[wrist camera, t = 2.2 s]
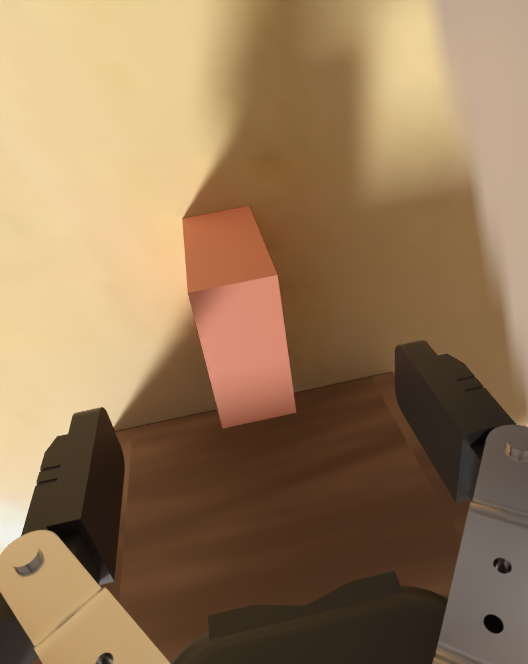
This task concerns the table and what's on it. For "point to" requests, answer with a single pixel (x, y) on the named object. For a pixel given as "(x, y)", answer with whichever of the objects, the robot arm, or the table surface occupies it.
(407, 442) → the box
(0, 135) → the table surface
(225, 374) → the tall salmon pink box
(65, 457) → the robot arm
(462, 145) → the table surface
